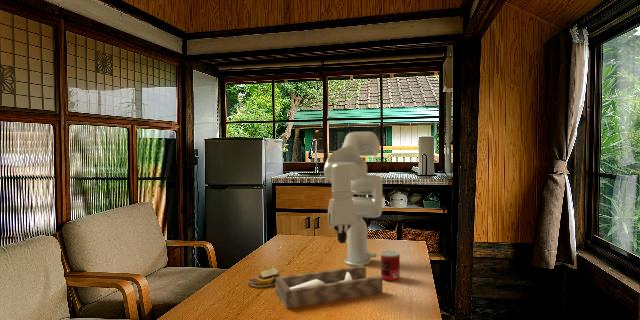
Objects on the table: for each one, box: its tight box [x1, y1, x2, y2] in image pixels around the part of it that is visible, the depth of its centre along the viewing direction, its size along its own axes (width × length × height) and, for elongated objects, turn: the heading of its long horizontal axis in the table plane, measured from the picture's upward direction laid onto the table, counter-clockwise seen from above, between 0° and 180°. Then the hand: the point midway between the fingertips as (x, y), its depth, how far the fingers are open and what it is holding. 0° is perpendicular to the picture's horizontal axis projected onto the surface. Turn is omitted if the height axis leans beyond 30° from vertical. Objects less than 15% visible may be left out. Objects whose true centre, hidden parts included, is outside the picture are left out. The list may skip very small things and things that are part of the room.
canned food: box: [380, 250, 401, 283], centre depth 166 cm, size 8×8×11 cm
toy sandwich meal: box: [247, 267, 281, 289], centre depth 164 cm, size 12×14×5 cm
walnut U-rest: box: [274, 265, 383, 310], centre depth 152 cm, size 38×16×6 cm, turn 110°
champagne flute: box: [290, 272, 352, 289], centre depth 148 cm, size 7×7×24 cm
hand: (341, 242), depth 153 cm, fingers closed
